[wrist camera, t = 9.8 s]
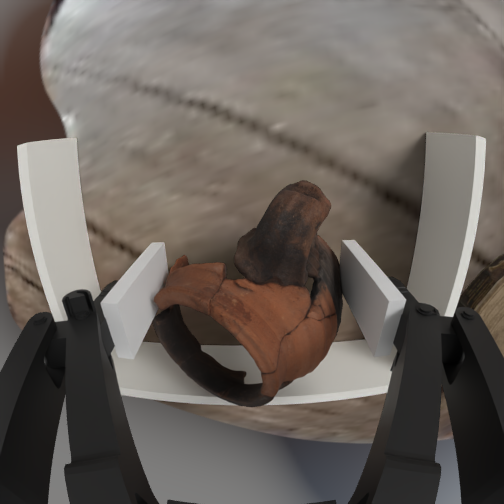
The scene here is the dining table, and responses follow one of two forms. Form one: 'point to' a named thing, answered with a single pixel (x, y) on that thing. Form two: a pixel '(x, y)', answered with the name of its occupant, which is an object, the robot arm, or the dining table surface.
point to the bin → (237, 357)
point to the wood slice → (488, 299)
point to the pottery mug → (260, 301)
